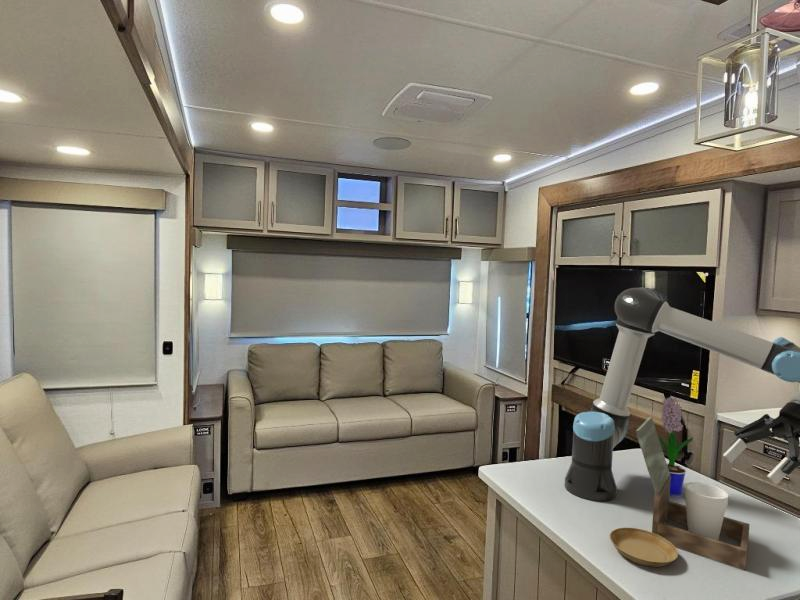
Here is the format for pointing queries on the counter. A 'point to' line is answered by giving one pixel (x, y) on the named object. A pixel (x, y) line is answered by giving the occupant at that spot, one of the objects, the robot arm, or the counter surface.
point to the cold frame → (678, 512)
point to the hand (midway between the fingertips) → (747, 469)
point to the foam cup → (705, 508)
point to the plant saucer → (643, 547)
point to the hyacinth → (673, 443)
